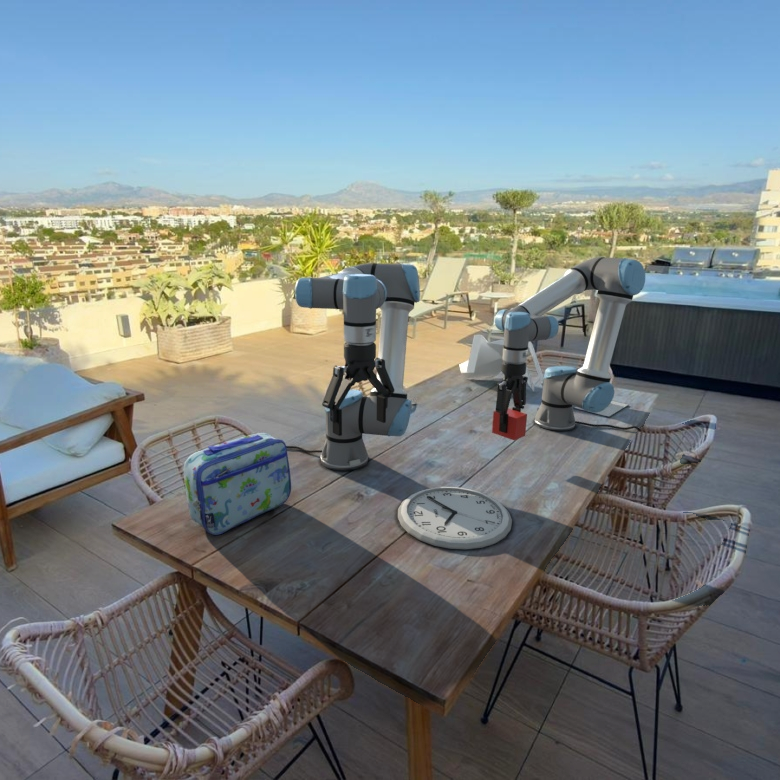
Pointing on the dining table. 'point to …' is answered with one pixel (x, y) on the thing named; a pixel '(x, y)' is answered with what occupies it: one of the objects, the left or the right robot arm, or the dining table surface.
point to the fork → (414, 401)
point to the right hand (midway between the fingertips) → (509, 429)
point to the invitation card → (610, 408)
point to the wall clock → (454, 518)
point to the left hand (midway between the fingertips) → (359, 427)
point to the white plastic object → (492, 360)
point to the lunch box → (236, 481)
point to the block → (511, 424)
